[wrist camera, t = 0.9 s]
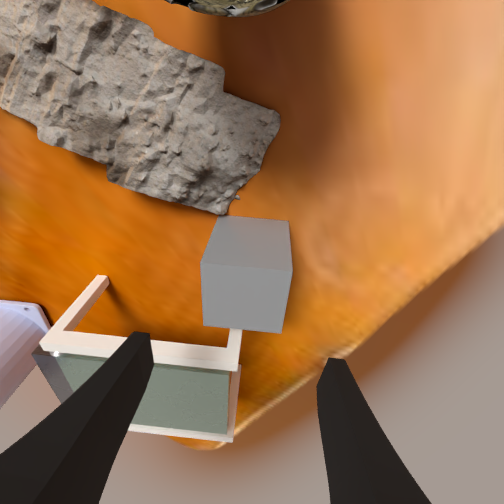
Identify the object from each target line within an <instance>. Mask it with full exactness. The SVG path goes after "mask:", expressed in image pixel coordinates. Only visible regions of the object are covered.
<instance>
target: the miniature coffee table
mask: <svg viewBox="0 0 504 504" xmlns="http://www.w3.org/2000/svg"><path fill="white" fill-rule="evenodd" d="M109 284H110V283H109V279H108V276H104V275H97V276H96V277H95V278H94V280H93V281H92V282H91V283H90V284H89V285H88V287H87V288H86V289H85V290H84V291H83V292H82V293H81V295H80V296H79V297H78V298H77V299H76V300H75V301H74V303H73V304H72V305H71V306H70V307H69V308H68V309H67V311H66V312H65V313H64V314H63V315H62V316H61V318H60V319H59V320H58V321H57V322H56V323H55V324H54V326H53V327H52V328H51V329H50V330H49V331H48V332H47V334H46V335H45V336H44V337H43V338H42V339H41V340H40V342H39V343H40V345H41V347H42V349H43V350H44V351H51V352H60V353H70V354H79V355H88V356H98V357H107V358H109V357H110V356H111V355H112V354H113V353H114V352H115V351H116V350H117V349H118V348H119V347H120V346H121V344H122V343H123V342H124V341H125V340H126V339H127V338H128V337H119V336H110V335H100V334H91V333H81V332H72V331H73V330H74V329H75V327H76V326H77V325H78V324H79V322H80V321H81V320H82V318H83V317H84V316H85V315H86V313H87V312H88V311H89V310H90V308H91V307H92V306H93V304H94V303H95V302H96V301H97V299H98V298H99V297H100V295H101V294H102V293H103V292H104V290H105V289H106V288H107V286H108V285H109ZM242 331H243V330H242V329H232V328H230V333H229V338H228V344H227V348H223V347H214V346H204V345H195V344H185V343H176V342H166V341H157V340H150V341H151V347H152V353H153V359H154V363H162V364H172V365H181V366H190V367H200V368H209V369H218V370H227V371H232V377H231V384H230V398H229V421H228V428H227V435H226V434H217V433H208V432H200V431H191V430H182V429H173V428H164V427H155V426H146V425H138V424H130V426H129V428H128V431H135V432H144V433H152V434H161V435H170V436H179V437H187V438H196V439H205V440H214V441H223V442H233V435H234V426H235V417H236V409H237V400H238V392H239V383H240V375H241V364H238V362H239V354H240V346H241V338H242Z"/></svg>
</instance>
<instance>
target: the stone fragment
mask: <svg viewBox="0 0 504 504" xmlns="http://www.w3.org/2000/svg"><path fill="white" fill-rule="evenodd" d="M224 77H225V71H224V69H223V68H222V67H221V66H219V65H217V64H215V63H213V62H211V61H208V60H205V59H202V58H200V57H198V56H196V55H193V54H191V53H187V52H185V51H183V50H178V49H176V48H174V47H172V46H170V45H167V44H165V43H163V42H162V41H160V40H159V39H157V38H155V37H154V33H153V30H152V29H151V28H150V27H149V26H148V25H147V24H145V23H143V22H141V21H139V20H137V19H134V18H129V17H128V16H126V15H124V14H122V13H119V12H116V11H113V10H111V9H109V8H107V7H105V6H99V5H97V4H96V3H95V2H94V1H92V0H0V107H1V108H2V109H5V110H7V111H8V112H10V113H11V114H14V115H16V116H18V117H20V118H24V119H25V120H27V121H29V122H30V123H32V124H34V125H36V127H37V128H38V131H37V135H38V139H39V140H41V141H42V142H45V143H47V144H49V145H52V146H58V147H62V148H65V149H67V150H70V151H73V152H76V153H78V154H80V155H82V156H85V157H88V158H92V159H94V160H96V161H98V162H100V163H102V164H105V165H107V178H108V181H109V182H112V183H115V184H118V185H120V186H122V187H124V188H127V189H130V190H133V191H136V192H140V193H145V194H147V195H149V196H152V197H156V198H159V199H162V200H167V201H169V202H172V201H174V202H176V203H180V204H183V205H187V206H193V207H195V208H198V209H201V210H208V211H210V212H212V213H215V214H222V215H224V214H225V213H227V210H228V207H229V204H230V203H231V201H232V200H233V199H234V197H235V194H236V192H237V190H238V189H240V188H241V187H242V186H243V185H244V184H246V183H247V182H248V180H249V179H250V178H251V177H253V176H254V175H256V174H257V173H258V172H259V171H260V166H261V163H262V160H263V156H264V154H265V152H266V150H267V148H268V146H269V144H270V143H271V142H272V141H273V139H274V138H275V136H276V134H277V132H278V131H279V128H280V121H281V120H280V115H279V114H278V113H277V112H276V111H275V110H269V109H267V108H265V107H262V106H260V105H257V104H255V103H252V102H249V101H245V100H242V99H240V98H239V97H236V96H233V95H231V94H228V93H225V92H223V84H224ZM235 199H238V200H240V197H239V195H236V197H235Z"/></svg>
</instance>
